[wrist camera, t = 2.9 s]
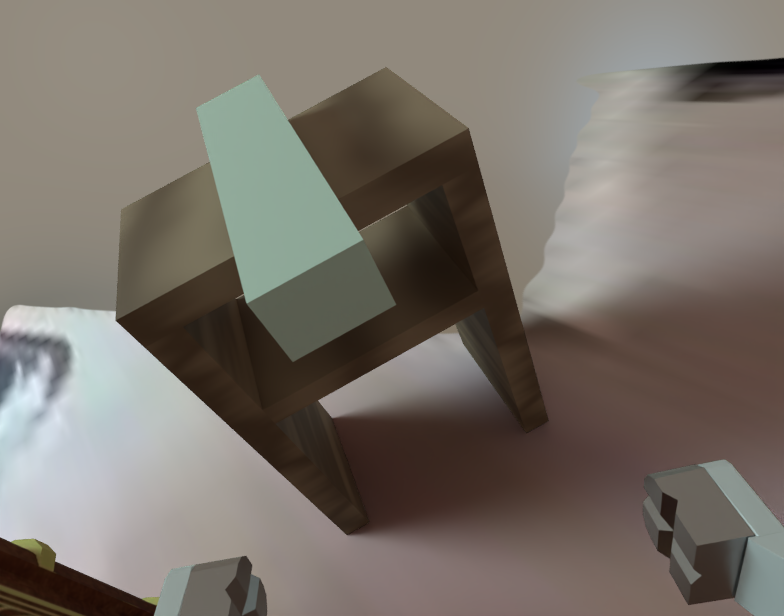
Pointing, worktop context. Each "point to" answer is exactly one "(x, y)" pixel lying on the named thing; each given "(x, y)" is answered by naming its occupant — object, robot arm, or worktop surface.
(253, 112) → the pale green bar
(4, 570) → the decorative book
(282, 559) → the worktop surface
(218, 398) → the walnut shelf
